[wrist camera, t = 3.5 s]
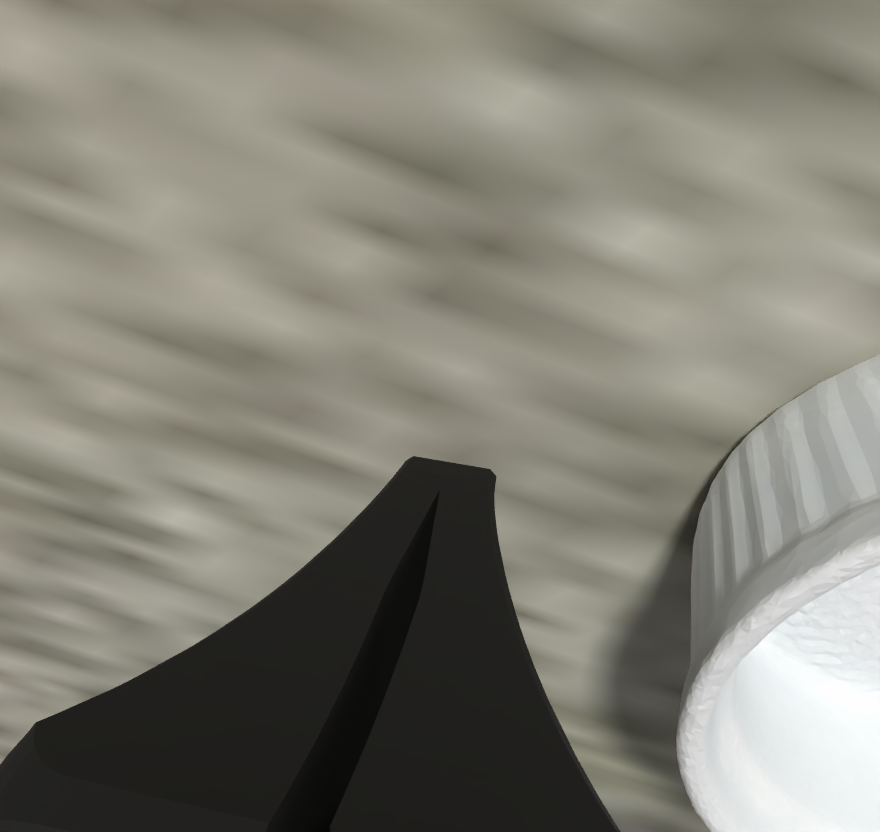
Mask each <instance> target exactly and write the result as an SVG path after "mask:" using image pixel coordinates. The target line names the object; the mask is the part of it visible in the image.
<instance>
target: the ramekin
mask: <svg viewBox="0 0 880 832" xmlns="http://www.w3.org/2000/svg"><path fill="white" fill-rule="evenodd" d="M676 751H677V760H678V765H679V770H680V774H681V778H682V781H683V784H684V786H685V789H686V792H687V794H688V796H689V798H690V800H691V804H692V806H693V807H694V808H695V811H696V813H697V814H698V815H699V817H700V818H701V819H702V820H703V822H704V823H705V825H706V826H707V828H708V829H709V830H710V832H880V354H879V355H877V356H875V357H873V358H870V359H868V360H866V361H864V362H861V363H859V364H857V365H855V366H853V367H851V368H849V369H847V370H845V371H843V372H841V373H839V374H837V375H835V376H833V377H831V378H828V379H826V380H824V381H822V382H820V383H818V384H817V385H815V386H814V387H812V388H811V389H809V390H807V391H806V392H804V393H803V394H801V395H800V396H798V397H796V398H795V399H793V400H791V401H790V402H788V403H787V404H785V405H783V406H782V407H780V408H779V409H777V410H776V411H775V412H774V413H773V414H772V415H770V416H769V417H768V418H767V419H766V420H765V421H764V422H762V423H761V424H760V425H759V426H757V427H756V428H755V429H754V430H752V431H751V432H750V433H749V434H748V435H747V436H746V437H745V438H744V439H743V441H742V442H741V443H740V444H739V445H738V446H737V447H736V448H735V449H734V450H733V452H732V453H731V454H730V456H729V457H728V459H727V460H726V462H725V463H724V465H723V467H722V468H721V470H720V471H719V473H718V474H717V476H716V477H715V479H714V481H713V482H712V484H711V487H710V489H709V492H708V495H707V498H706V500H705V502H704V504H703V506H702V509H701V511H700V514H699V519H698V525H697V530H696V533H695V537H694V543H693V556H692V571H691V663H690V666H689V669H688V672H687V676H686V679H685V683H684V687H683V691H682V696H681V702H680V707H679V714H678V724H677V735H676Z"/></svg>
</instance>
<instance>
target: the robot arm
mask: <svg viewBox="0 0 880 832" xmlns="http://www.w3.org/2000/svg"><path fill="white" fill-rule="evenodd" d="M495 483H496V476H495V474H494V473H493V472H492V471H491V470H490V469H486V468H480V467H474V466H468V465H462V464H456V463H450V462H444V461H439V460H433V459H427V458H421V457H415V456H413V457H411V458H410V459H408V460H407V461H405V463H404V464H403V465H402V467H401V468H400V469H399V470H398V472H397V473H396V474H395V475H394V477H393V478H392V479H391V480H390V481H389V483H388V484H387V485H386V486H385V487H384V488H383V489H382V491H381V492H380V493H379V494H378V495H377V496H376V497H375V498H374V499H373V501H372V502H371V503H370V504H369V505H368V506H367V507H366V508H365V509H364V510H363V511H362V512H361V513H360V514H359V515H358V516H357V517H356V518H355V519H354V520H353V521H352V522H351V523H350V524H349V525H348V526H347V527H346V528H345V529H344V530H343V531H342V532H341V533H340V534H339V535H338V536H337V537H336V538H335V539H334V540H333V541H332V542H331V543H330V544H329V545H327V546H326V547H325V548H324V549H323V550H322V551H321V552H320V553H319V554H317V555H316V556H315V557H314V558H313V559H312V560H311V561H310V562H308V563H307V564H306V565H305V566H304V567H303V568H302V569H301V570H299V571H298V572H297V573H296V574H294V575H293V576H292V577H291V578H290V579H288V580H287V581H286V582H285V583H283V584H282V585H281V586H280V587H278V588H277V589H276V590H274V591H273V592H272V593H270V594H269V595H268V596H266V597H265V598H264V599H262V600H261V601H260V602H258V603H257V604H256V605H254V606H253V607H251V608H250V609H249V610H247V611H246V612H244V613H243V614H241V615H240V616H238V617H237V618H235V619H234V620H232V621H231V622H229V623H228V624H226V625H225V626H223V627H222V628H220V629H219V630H217V631H216V632H214V633H213V634H211V635H209V636H208V637H206V638H205V639H203V640H201V641H200V642H198V643H197V644H195V645H193V646H192V647H190V648H188V649H186V650H185V651H183V652H181V653H179V654H177V655H175V656H174V657H172V658H170V659H168V660H166V661H165V662H163V663H161V664H159V665H157V666H156V667H154V668H152V669H150V670H148V671H146V672H145V673H143V674H141V675H139V676H137V677H135V678H133V679H132V680H130V681H128V682H126V683H124V684H122V685H120V686H118V687H116V688H114V689H111V690H109V691H107V692H105V693H102V694H100V695H98V696H96V697H93V698H91V699H89V700H87V701H84V702H82V703H80V704H78V705H75V706H73V707H71V708H69V709H66V710H64V711H62V712H60V713H57V714H55V715H53V716H50V717H48V718H46V719H43V720H41V721H38V722H36V723H35V724H34V725H33V727H32V728H31V729H30V731H29V732H28V733H27V734H26V735H25V736H24V738H23V739H22V740H21V741H20V742H19V743H18V744H17V745H16V746H15V747H14V749H13V750H12V751H11V752H10V753H9V754H8V756H7V757H6V758H5V759H4V761H3V762H2V763H1V764H0V832H620V830H619V829H618V827H617V826H616V824H615V823H614V821H613V819H612V818H611V816H610V814H609V813H608V811H607V809H606V808H605V806H604V804H603V803H602V801H601V800H600V798H599V796H598V795H597V793H596V791H595V789H594V788H593V786H592V784H591V782H590V780H589V779H588V777H587V775H586V773H585V771H584V770H583V768H582V766H581V764H580V763H579V761H578V759H577V757H576V755H575V753H574V751H573V749H572V747H571V745H570V743H569V741H568V739H567V737H566V735H565V733H564V731H563V729H562V727H561V725H560V723H559V721H558V719H557V717H556V715H555V713H554V711H553V709H552V706H551V704H550V702H549V700H548V698H547V696H546V693H545V691H544V689H543V686H542V684H541V682H540V679H539V677H538V674H537V672H536V670H535V667H534V665H533V662H532V659H531V657H530V654H529V651H528V649H527V646H526V643H525V640H524V637H523V634H522V632H521V629H520V625H519V622H518V619H517V616H516V613H515V609H514V606H513V602H512V599H511V595H510V592H509V588H508V584H507V580H506V576H505V572H504V567H503V562H502V557H501V552H500V547H499V542H498V535H497V528H496V519H495V507H494V491H495Z"/></svg>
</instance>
